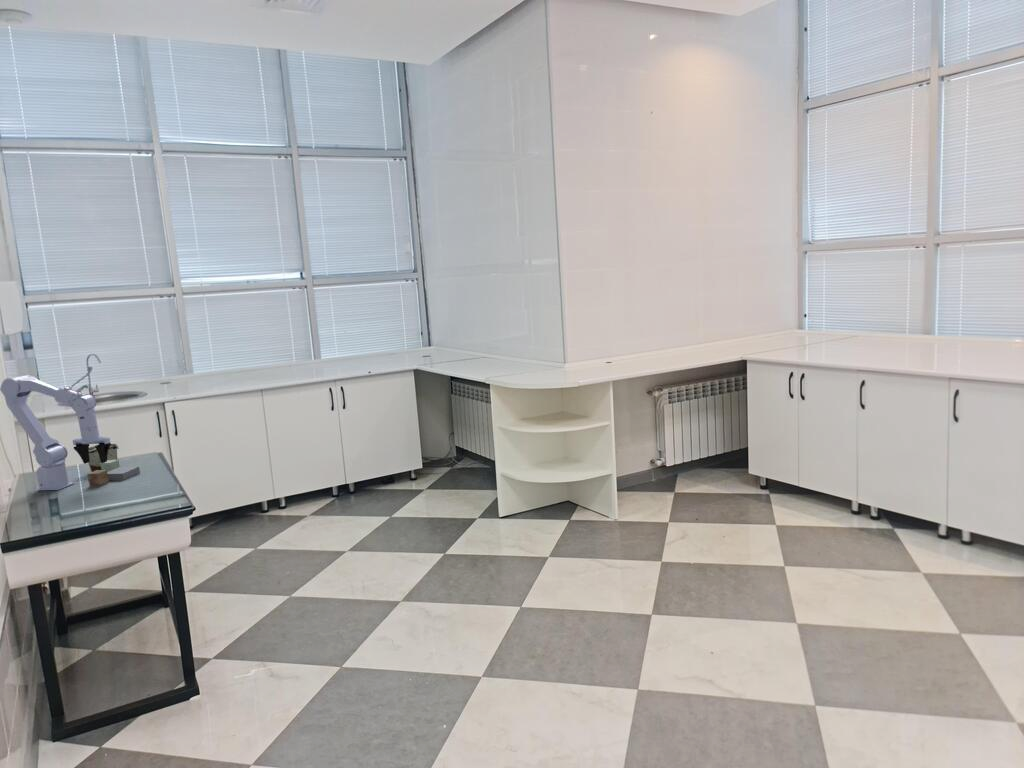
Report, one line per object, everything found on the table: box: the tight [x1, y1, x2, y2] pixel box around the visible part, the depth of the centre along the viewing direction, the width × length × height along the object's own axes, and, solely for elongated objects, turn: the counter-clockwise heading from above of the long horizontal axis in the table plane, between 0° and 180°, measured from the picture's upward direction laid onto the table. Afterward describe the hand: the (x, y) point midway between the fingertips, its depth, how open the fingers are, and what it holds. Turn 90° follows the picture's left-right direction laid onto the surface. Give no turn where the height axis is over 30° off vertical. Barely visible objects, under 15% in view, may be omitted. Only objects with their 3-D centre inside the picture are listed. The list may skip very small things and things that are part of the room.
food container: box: [87, 443, 119, 473], centre depth 291 cm, size 12×6×10 cm, turn 130°
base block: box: [107, 466, 141, 481], centre depth 279 cm, size 9×9×3 cm
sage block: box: [100, 459, 121, 472], centre depth 285 cm, size 4×4×5 cm
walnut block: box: [87, 470, 110, 487], centre depth 270 cm, size 4×4×5 cm
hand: (95, 462), depth 269 cm, fingers open, 7 cm apart
